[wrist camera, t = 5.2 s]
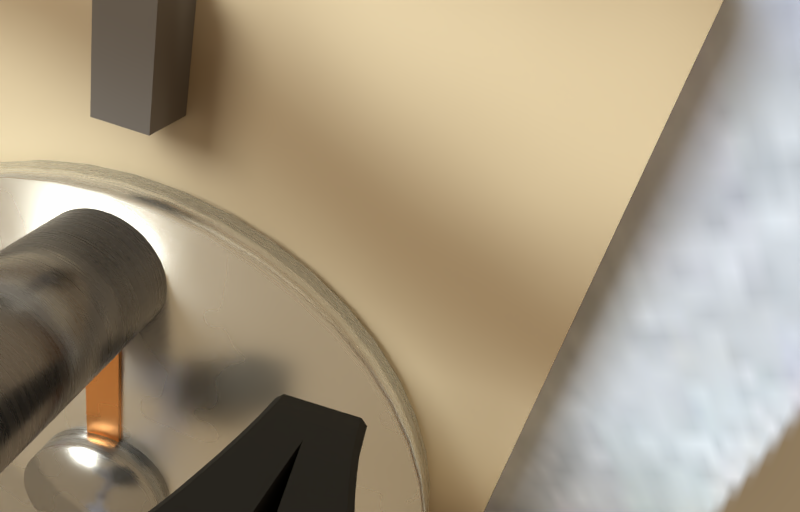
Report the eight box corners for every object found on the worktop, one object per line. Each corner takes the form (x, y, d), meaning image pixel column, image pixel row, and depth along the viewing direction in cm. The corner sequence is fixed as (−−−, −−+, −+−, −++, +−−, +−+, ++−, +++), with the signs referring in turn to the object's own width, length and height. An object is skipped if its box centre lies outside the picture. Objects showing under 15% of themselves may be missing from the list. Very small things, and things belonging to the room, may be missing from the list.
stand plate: (370, 724, 22) (349, 823, 19) (-73, 562, 23) (-146, 638, 20) (721, -57, 10) (776, -50, 8) (-228, -331, 11) (-444, -400, 8)
